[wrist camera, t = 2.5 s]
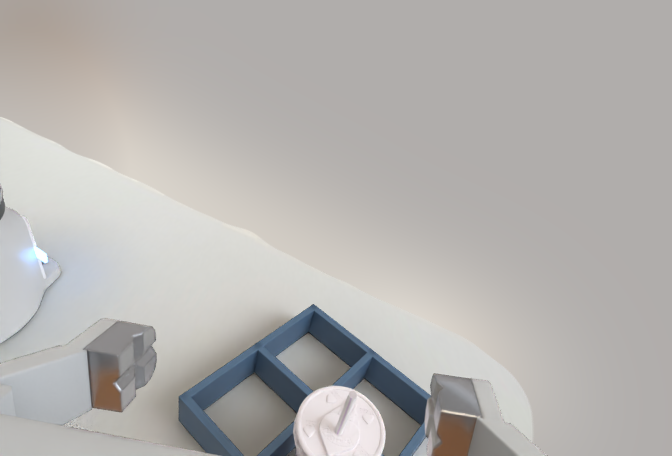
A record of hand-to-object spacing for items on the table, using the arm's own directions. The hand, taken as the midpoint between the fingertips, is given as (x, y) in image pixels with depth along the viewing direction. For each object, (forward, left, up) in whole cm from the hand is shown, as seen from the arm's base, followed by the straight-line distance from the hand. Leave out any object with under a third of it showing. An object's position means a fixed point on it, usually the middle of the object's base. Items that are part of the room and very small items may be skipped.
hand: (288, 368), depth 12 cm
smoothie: (-1, +10, -27) cm, 28 cm away
